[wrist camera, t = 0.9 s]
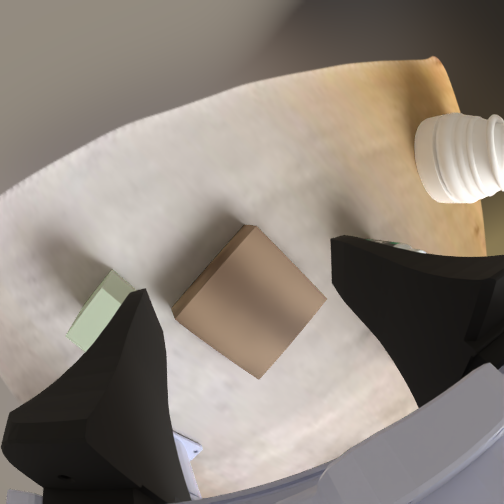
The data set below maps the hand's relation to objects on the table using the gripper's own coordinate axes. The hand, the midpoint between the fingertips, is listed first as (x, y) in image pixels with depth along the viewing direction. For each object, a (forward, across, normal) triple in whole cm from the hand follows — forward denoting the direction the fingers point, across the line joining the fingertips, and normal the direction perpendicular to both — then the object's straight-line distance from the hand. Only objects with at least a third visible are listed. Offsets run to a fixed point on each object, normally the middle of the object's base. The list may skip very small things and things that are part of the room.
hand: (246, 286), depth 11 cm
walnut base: (+14, -2, +11) cm, 18 cm away
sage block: (+13, +10, +7) cm, 18 cm away
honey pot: (+21, -35, +3) cm, 41 cm away
